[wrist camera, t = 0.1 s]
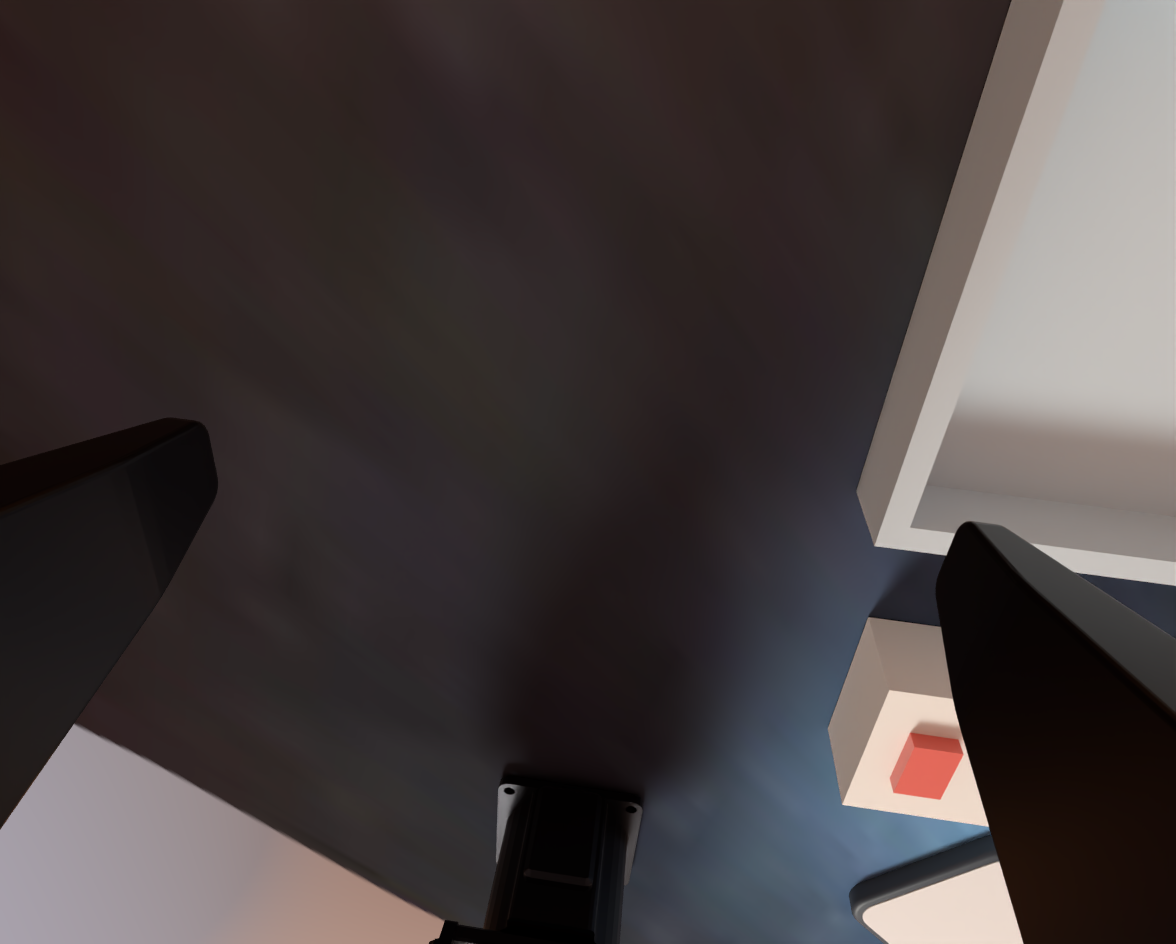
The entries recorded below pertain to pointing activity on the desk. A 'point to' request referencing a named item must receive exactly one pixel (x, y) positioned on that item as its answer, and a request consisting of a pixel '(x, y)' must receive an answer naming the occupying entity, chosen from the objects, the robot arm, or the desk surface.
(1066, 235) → the tray
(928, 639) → the power strip
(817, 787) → the desk surface
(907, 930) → the phone case
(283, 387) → the desk surface
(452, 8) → the desk surface
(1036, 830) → the robot arm
